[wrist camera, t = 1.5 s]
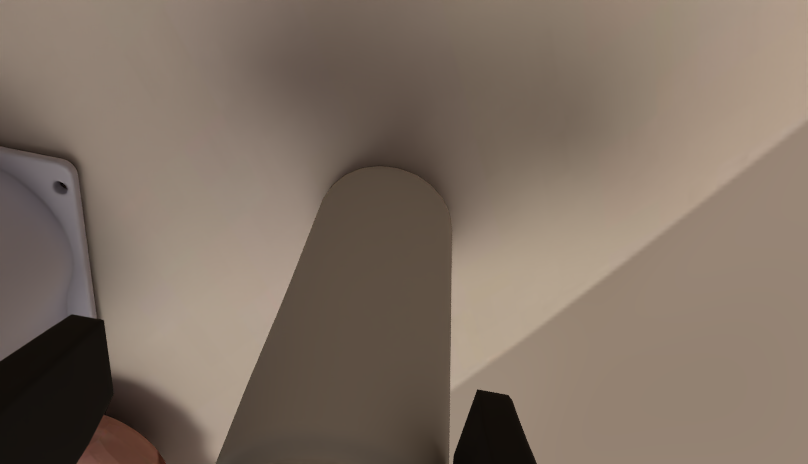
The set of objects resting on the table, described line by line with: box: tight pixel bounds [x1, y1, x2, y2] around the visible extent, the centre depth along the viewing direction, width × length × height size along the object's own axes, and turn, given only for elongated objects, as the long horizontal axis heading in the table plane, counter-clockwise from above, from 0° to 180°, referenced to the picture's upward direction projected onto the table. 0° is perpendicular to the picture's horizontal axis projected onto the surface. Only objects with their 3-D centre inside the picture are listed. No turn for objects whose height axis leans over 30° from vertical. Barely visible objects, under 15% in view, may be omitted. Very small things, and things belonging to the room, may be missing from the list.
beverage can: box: [216, 166, 452, 464], centre depth 16 cm, size 5×5×12 cm
